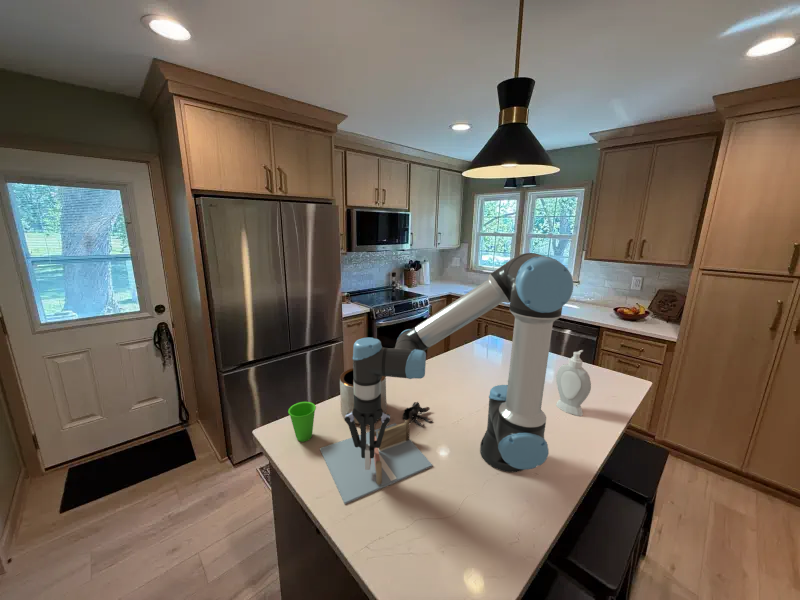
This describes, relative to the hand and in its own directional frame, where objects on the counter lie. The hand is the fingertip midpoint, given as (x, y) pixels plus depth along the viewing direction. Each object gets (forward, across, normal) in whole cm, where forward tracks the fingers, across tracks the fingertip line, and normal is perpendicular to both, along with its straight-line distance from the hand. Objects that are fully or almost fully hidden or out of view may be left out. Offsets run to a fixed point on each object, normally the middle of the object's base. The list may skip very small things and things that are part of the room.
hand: (368, 466), depth 94 cm
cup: (+4, +24, -16) cm, 30 cm away
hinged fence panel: (+2, -2, -2) cm, 3 cm away
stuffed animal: (+4, -15, -30) cm, 34 cm away
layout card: (+3, -1, -7) cm, 8 cm away
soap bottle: (+2, -76, -37) cm, 85 cm away
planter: (+3, +6, -32) cm, 33 cm away
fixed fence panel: (+3, -6, -12) cm, 14 cm away
